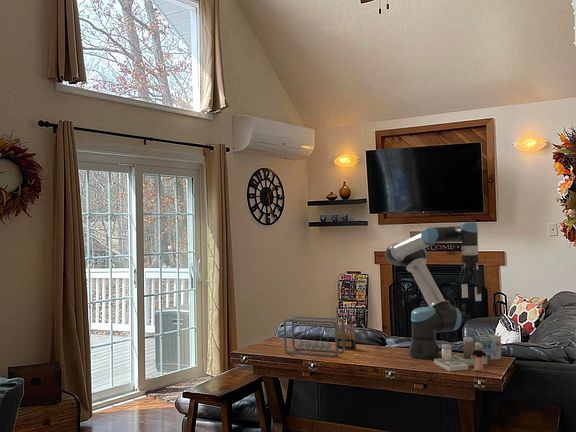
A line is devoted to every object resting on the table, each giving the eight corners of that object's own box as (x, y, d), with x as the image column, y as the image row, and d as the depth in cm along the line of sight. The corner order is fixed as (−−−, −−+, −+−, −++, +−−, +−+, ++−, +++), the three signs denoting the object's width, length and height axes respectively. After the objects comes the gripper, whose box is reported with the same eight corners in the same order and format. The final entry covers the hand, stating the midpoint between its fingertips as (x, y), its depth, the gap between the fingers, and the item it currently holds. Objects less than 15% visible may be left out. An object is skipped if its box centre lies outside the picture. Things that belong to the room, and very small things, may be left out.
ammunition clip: (336, 348, 338) (335, 325, 338) (337, 347, 340) (336, 325, 340) (354, 349, 333) (354, 326, 333) (356, 348, 335) (355, 325, 335)
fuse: (440, 363, 294) (439, 344, 294) (449, 363, 295) (448, 343, 295) (444, 366, 290) (444, 346, 290) (453, 365, 290) (453, 345, 290)
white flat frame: (434, 363, 295) (434, 357, 295) (452, 362, 297) (452, 356, 297) (449, 371, 279) (449, 365, 279) (468, 369, 281) (468, 363, 281)
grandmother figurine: (469, 371, 278) (468, 342, 278) (471, 369, 281) (470, 340, 282) (487, 372, 274) (486, 343, 274) (489, 370, 278) (488, 342, 278)
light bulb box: (481, 360, 298) (481, 337, 298) (474, 357, 305) (473, 335, 305) (502, 358, 301) (501, 336, 301) (494, 356, 307) (493, 333, 307)
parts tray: (451, 361, 299) (451, 354, 299) (474, 359, 301) (474, 352, 301) (463, 366, 287) (462, 359, 287) (487, 364, 290) (487, 358, 290)
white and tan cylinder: (471, 360, 297) (470, 336, 297) (475, 362, 293) (474, 338, 293) (462, 360, 296) (461, 337, 296) (466, 362, 292) (466, 338, 292)
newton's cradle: (284, 353, 329) (283, 319, 329) (293, 349, 338) (292, 316, 338) (337, 357, 315) (336, 321, 315) (345, 353, 324) (344, 318, 325)
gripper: (451, 253, 312) (452, 296, 312) (475, 256, 287) (476, 302, 287) (465, 253, 313) (466, 296, 313) (490, 255, 289) (491, 301, 289)
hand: (471, 299), depth 300 cm, fingers open, 13 cm apart
